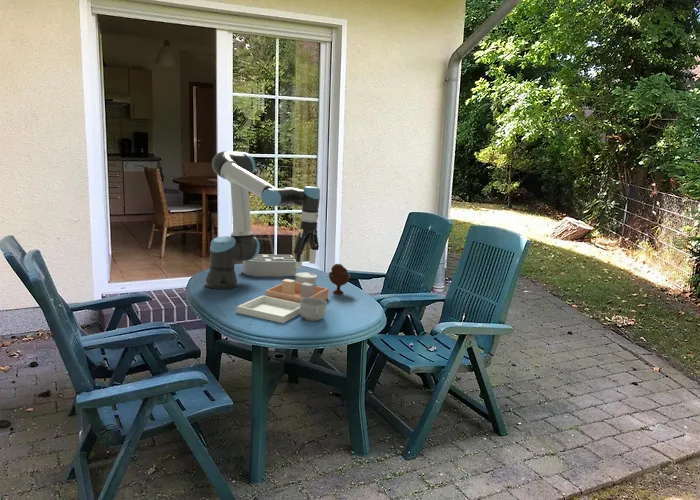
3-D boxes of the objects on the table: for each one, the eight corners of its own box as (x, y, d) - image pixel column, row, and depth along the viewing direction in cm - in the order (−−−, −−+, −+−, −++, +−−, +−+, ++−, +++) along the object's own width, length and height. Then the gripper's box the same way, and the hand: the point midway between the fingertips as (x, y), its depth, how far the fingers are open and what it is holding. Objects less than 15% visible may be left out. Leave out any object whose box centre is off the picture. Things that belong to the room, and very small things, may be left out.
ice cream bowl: (346, 297, 261) (349, 267, 258) (324, 294, 263) (326, 264, 260) (351, 292, 271) (353, 263, 268) (329, 289, 273) (332, 260, 270)
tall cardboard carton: (281, 297, 251) (282, 280, 250) (285, 295, 255) (286, 278, 253) (290, 298, 250) (291, 282, 248) (294, 296, 253) (295, 280, 252)
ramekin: (321, 285, 278) (321, 276, 277) (305, 288, 270) (305, 278, 269) (306, 280, 286) (307, 271, 285) (290, 283, 278) (291, 273, 277)
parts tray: (236, 313, 225) (237, 306, 224) (262, 301, 243) (262, 295, 243) (283, 323, 217) (283, 316, 216) (305, 311, 235) (306, 304, 235)
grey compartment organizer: (296, 277, 292) (297, 261, 290) (243, 277, 284) (244, 261, 282) (290, 269, 308) (291, 254, 306) (240, 269, 299) (241, 254, 297)
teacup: (299, 313, 231) (300, 296, 229) (324, 315, 232) (326, 297, 230) (299, 325, 217) (300, 306, 216) (326, 326, 218) (327, 307, 217)
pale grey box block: (300, 301, 248) (301, 284, 246) (304, 298, 251) (305, 282, 250) (309, 302, 246) (310, 286, 244) (313, 300, 250) (314, 284, 248)
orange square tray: (264, 301, 245) (265, 290, 244) (287, 290, 264) (288, 280, 263) (307, 310, 237) (307, 299, 236) (327, 298, 257) (328, 288, 256)
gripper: (303, 225, 233) (299, 272, 237) (328, 219, 255) (324, 262, 260) (288, 222, 236) (284, 269, 240) (314, 216, 258) (310, 259, 263)
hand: (305, 265), depth 250 cm, fingers open, 13 cm apart
